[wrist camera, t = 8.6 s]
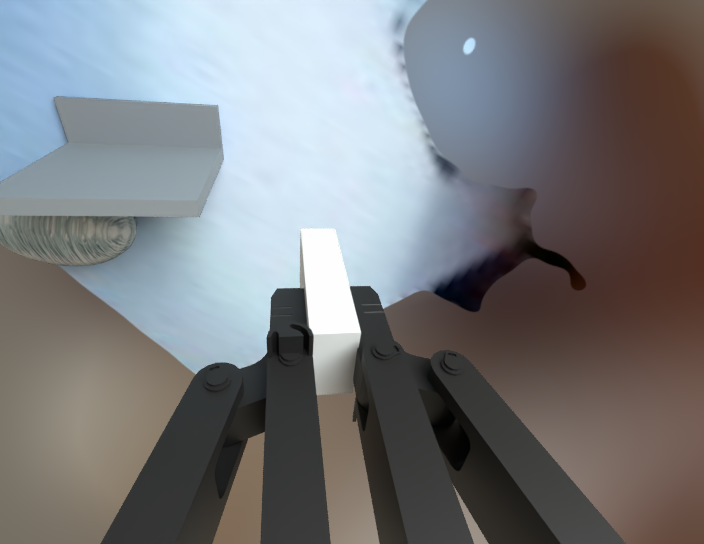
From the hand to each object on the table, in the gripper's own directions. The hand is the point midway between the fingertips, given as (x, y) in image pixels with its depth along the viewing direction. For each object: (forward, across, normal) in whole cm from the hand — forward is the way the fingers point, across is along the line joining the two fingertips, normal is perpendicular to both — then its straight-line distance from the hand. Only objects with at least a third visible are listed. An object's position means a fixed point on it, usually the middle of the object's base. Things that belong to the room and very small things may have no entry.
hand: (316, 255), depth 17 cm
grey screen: (+32, -17, -3) cm, 36 cm away
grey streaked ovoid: (+33, -26, -13) cm, 44 cm away
